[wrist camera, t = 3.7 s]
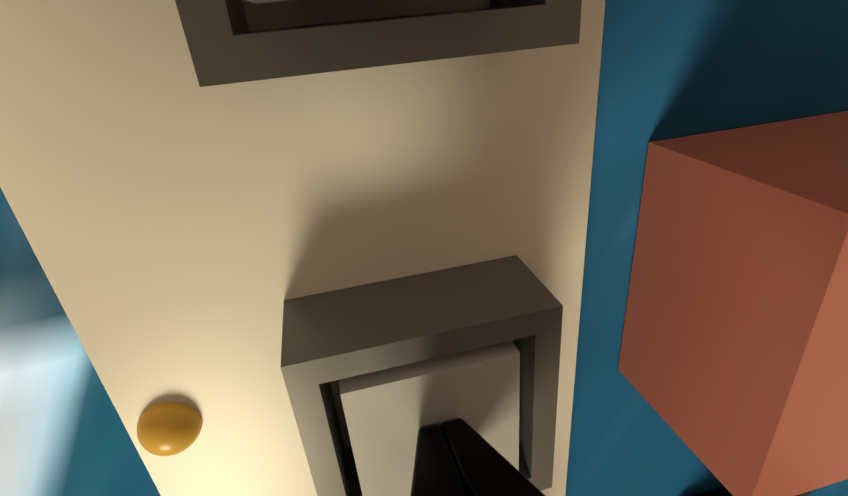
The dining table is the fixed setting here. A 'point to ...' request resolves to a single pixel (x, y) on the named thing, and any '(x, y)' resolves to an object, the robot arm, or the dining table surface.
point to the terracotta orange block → (747, 301)
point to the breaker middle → (429, 410)
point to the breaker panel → (303, 212)
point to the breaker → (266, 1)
